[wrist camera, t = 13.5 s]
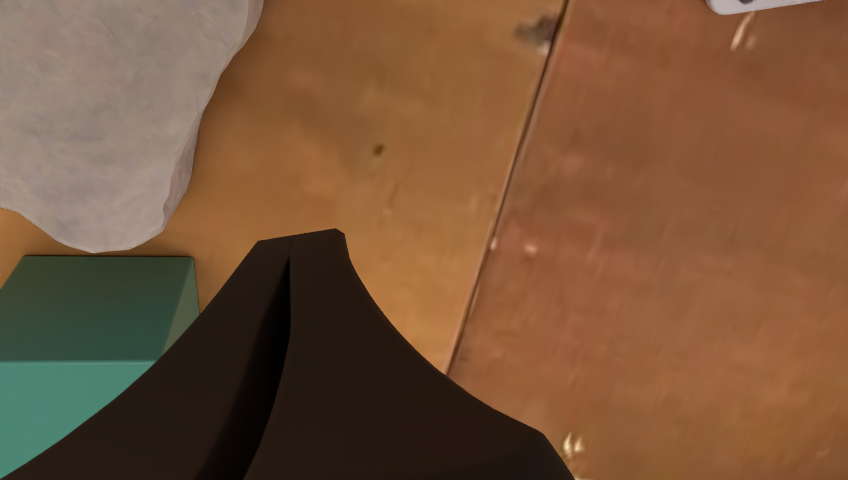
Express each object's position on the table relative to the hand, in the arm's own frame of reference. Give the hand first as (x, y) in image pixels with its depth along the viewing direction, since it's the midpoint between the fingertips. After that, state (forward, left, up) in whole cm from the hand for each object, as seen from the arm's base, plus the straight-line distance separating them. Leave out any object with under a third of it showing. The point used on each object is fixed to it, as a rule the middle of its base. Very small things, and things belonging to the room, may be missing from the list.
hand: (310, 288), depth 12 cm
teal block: (+8, +7, -10) cm, 15 cm away
